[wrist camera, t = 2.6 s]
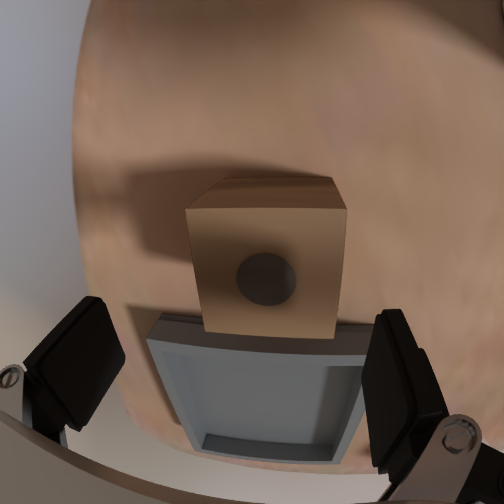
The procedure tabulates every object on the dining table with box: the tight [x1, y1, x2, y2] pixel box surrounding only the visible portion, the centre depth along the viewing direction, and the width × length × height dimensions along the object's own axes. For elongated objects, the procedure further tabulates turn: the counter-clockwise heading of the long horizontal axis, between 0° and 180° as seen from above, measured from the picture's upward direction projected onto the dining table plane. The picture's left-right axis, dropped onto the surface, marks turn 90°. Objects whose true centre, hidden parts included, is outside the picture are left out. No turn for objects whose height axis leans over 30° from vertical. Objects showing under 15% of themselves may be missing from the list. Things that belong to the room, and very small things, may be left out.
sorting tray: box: [146, 314, 374, 464], centre depth 22 cm, size 18×16×3 cm
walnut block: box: [185, 177, 347, 339], centre depth 14 cm, size 6×6×6 cm
